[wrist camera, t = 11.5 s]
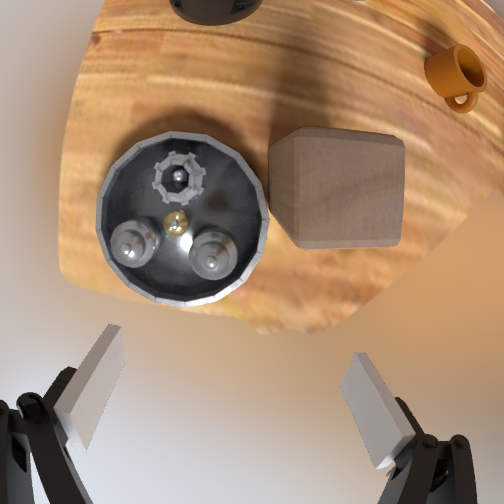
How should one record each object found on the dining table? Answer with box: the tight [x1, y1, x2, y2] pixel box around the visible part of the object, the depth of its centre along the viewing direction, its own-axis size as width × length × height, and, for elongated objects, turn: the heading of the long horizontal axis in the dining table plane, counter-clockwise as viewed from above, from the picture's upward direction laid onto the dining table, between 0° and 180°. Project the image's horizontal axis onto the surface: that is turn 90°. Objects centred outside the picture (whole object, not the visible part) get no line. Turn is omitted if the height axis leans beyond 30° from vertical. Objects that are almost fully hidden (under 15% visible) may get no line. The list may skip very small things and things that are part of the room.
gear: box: [152, 151, 209, 206], centre depth 35 cm, size 7×7×6 cm
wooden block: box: [268, 126, 405, 250], centre depth 30 cm, size 10×10×20 cm
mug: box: [424, 44, 487, 113], centre depth 31 cm, size 9×12×9 cm
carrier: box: [96, 131, 269, 308], centre depth 37 cm, size 25×25×8 cm
